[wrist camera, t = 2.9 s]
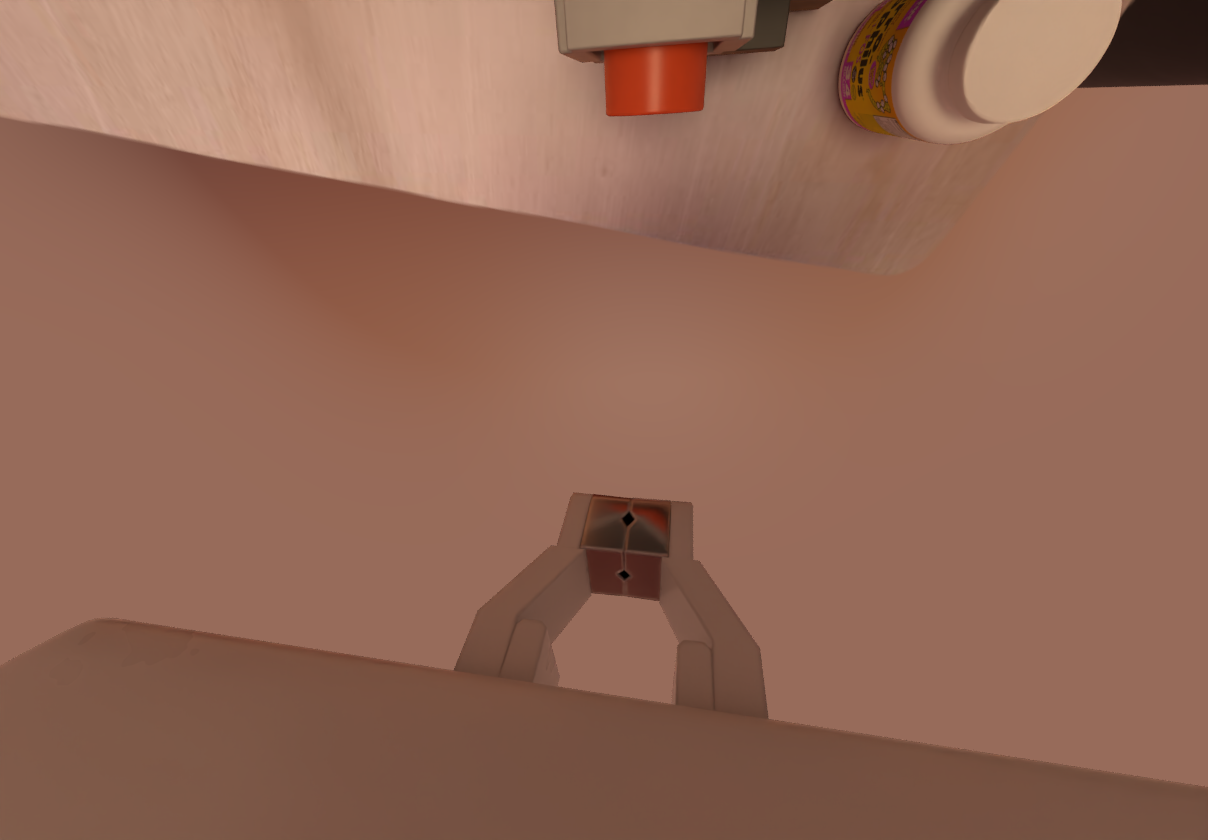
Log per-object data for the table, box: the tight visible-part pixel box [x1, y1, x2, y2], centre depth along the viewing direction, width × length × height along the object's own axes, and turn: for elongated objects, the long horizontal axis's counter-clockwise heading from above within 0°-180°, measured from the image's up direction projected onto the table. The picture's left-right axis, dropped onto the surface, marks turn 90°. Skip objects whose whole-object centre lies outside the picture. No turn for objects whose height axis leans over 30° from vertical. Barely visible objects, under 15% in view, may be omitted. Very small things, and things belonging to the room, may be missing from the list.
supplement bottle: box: [839, 0, 1122, 144], centre depth 21 cm, size 7×7×13 cm
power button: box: [604, 42, 708, 116], centre depth 14 cm, size 3×2×3 cm, turn 93°
